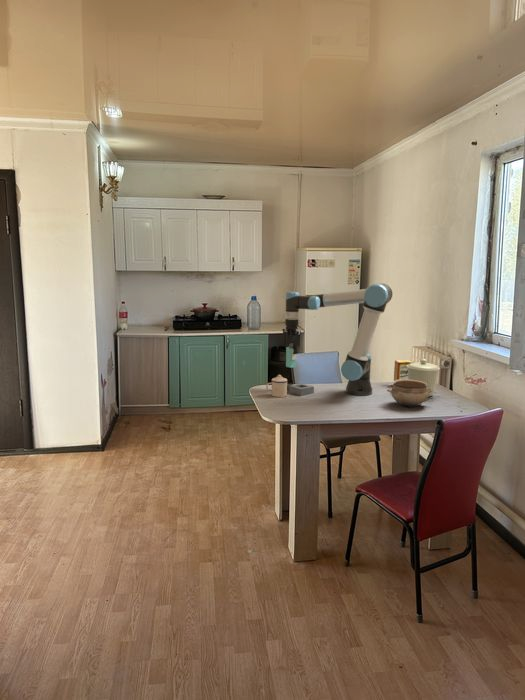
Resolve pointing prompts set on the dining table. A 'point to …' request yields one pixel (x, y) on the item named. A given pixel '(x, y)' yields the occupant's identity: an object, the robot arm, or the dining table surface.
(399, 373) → the baking soda box
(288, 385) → the frame
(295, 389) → the port panel
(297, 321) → the robot arm
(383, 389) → the dining table surface
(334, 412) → the dining table surface
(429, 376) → the canister
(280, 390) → the teacup with lid
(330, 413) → the dining table surface
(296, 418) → the dining table surface
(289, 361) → the aqua plug
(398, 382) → the cooking pot
